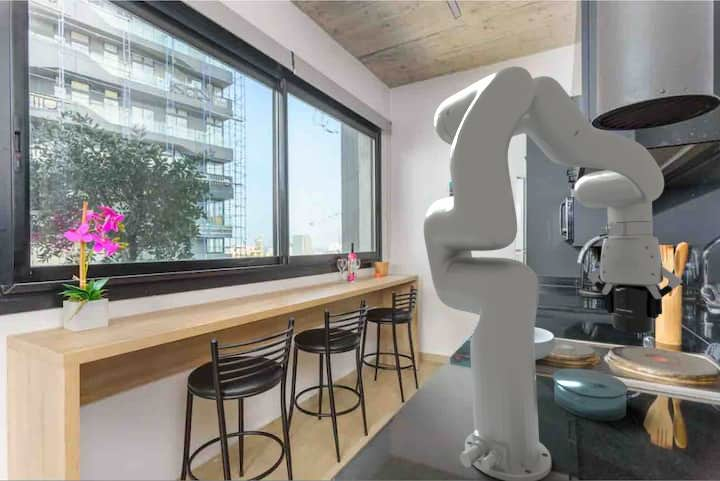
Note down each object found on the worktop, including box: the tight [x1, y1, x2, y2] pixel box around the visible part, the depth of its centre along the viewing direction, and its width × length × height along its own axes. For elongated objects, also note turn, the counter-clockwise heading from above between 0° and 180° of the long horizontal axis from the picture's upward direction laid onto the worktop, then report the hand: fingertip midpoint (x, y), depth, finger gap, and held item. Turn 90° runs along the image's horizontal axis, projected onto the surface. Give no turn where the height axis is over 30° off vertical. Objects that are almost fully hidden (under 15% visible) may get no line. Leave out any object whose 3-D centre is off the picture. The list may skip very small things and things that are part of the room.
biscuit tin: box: [552, 368, 628, 422], centre depth 70 cm, size 12×12×5 cm
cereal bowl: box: [534, 326, 555, 362], centre depth 98 cm, size 17×17×7 cm
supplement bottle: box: [611, 284, 654, 334], centre depth 74 cm, size 7×7×12 cm
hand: (632, 314), depth 74 cm, fingers closed on supplement bottle, 6 cm apart
